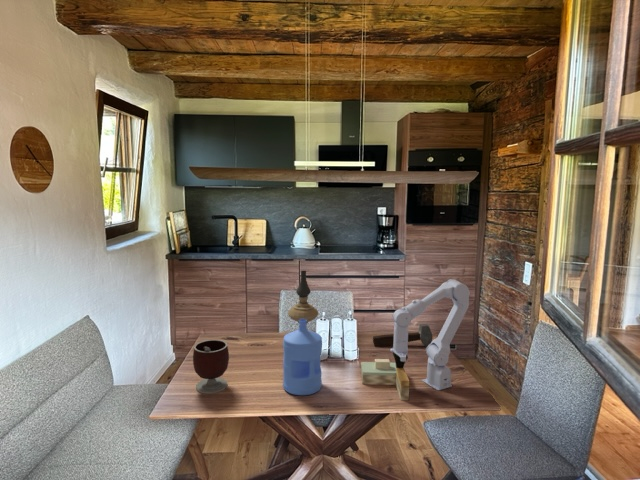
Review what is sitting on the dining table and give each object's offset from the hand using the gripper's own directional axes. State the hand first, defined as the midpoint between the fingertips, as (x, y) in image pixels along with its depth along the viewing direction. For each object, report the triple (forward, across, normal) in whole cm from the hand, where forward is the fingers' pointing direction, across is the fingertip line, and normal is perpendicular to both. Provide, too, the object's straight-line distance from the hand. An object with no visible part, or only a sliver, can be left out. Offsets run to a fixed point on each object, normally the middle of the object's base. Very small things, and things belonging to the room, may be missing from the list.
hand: (399, 370), depth 167 cm
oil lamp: (+6, -33, -42) cm, 54 cm away
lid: (+3, -4, -6) cm, 8 cm away
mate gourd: (+6, +6, -76) cm, 77 cm away
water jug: (+6, +4, -40) cm, 40 cm away
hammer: (+6, -42, +9) cm, 43 cm away
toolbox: (+6, +1, -6) cm, 9 cm away
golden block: (+1, +7, 0) cm, 7 cm away
